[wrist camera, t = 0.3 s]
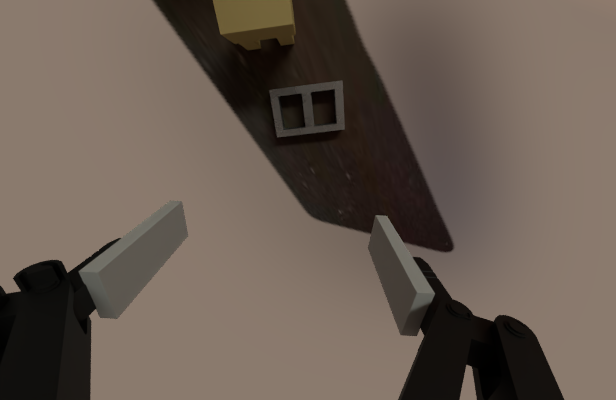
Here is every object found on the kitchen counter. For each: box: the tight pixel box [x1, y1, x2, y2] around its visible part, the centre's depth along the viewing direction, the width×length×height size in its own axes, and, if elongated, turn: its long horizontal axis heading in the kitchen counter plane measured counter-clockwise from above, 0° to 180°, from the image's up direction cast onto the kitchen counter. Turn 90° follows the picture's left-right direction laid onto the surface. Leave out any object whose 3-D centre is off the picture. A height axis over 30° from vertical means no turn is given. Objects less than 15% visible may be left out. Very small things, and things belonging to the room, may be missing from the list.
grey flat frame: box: [269, 81, 345, 137], centre depth 36 cm, size 7×11×2 cm, turn 97°
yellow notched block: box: [213, 0, 296, 50], centre depth 28 cm, size 4×8×10 cm, turn 97°
